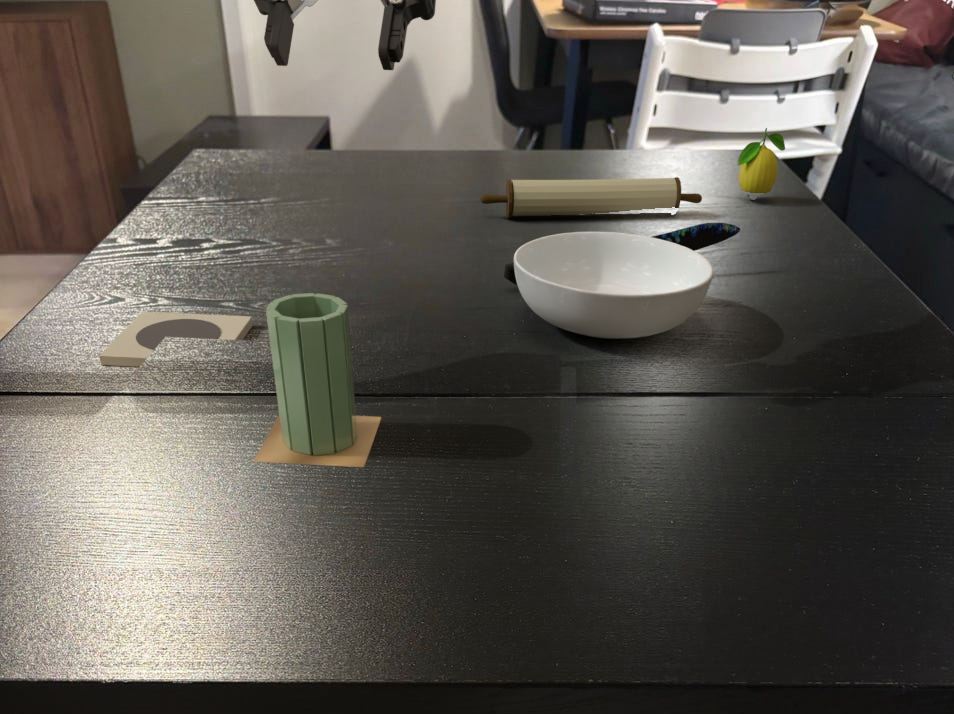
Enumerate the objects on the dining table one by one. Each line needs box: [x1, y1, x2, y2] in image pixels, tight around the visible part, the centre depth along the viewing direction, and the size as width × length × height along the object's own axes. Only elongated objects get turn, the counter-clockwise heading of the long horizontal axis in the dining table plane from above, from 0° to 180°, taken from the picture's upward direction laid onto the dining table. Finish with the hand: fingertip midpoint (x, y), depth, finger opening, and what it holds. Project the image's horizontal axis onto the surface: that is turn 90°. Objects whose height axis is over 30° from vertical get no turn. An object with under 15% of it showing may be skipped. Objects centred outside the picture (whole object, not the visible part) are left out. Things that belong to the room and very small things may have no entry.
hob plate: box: [98, 311, 254, 368], centre depth 96 cm, size 12×12×1 cm
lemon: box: [736, 127, 786, 194], centre depth 140 cm, size 7×6×10 cm
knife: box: [503, 222, 741, 287], centre depth 112 cm, size 31×3×4 cm, turn 104°
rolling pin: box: [480, 176, 703, 219], centre depth 134 cm, size 32×6×5 cm, turn 97°
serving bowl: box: [513, 231, 715, 340], centre depth 100 cm, size 21×21×7 cm
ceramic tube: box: [265, 292, 357, 455], centre depth 75 cm, size 6×6×11 cm
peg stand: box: [253, 414, 382, 468], centre depth 76 cm, size 9×9×10 cm
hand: (331, 61), depth 71 cm, fingers open, 8 cm apart
